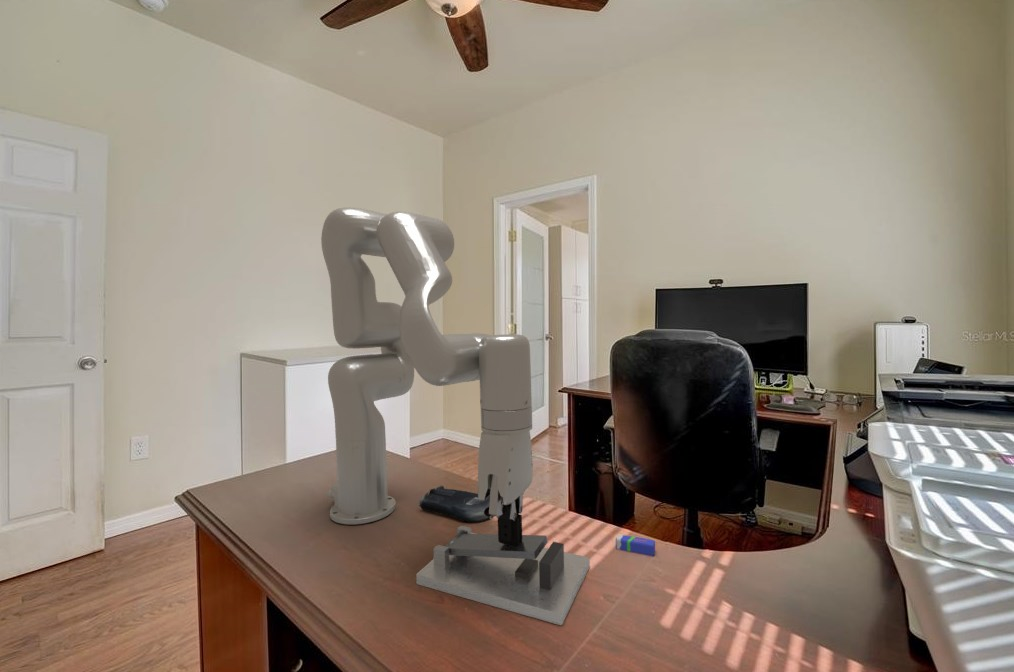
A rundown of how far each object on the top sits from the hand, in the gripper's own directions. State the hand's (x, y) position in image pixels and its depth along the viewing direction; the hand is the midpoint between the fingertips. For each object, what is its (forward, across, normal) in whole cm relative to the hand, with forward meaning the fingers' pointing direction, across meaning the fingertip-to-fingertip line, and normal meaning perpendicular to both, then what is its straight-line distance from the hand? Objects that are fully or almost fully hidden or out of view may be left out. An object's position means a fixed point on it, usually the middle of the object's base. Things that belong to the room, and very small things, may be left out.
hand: (510, 541), depth 64 cm
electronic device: (+6, -17, -19) cm, 26 cm away
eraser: (+6, -15, +16) cm, 22 cm away
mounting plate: (+5, 0, -1) cm, 6 cm away
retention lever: (+2, 0, -3) cm, 3 cm away
